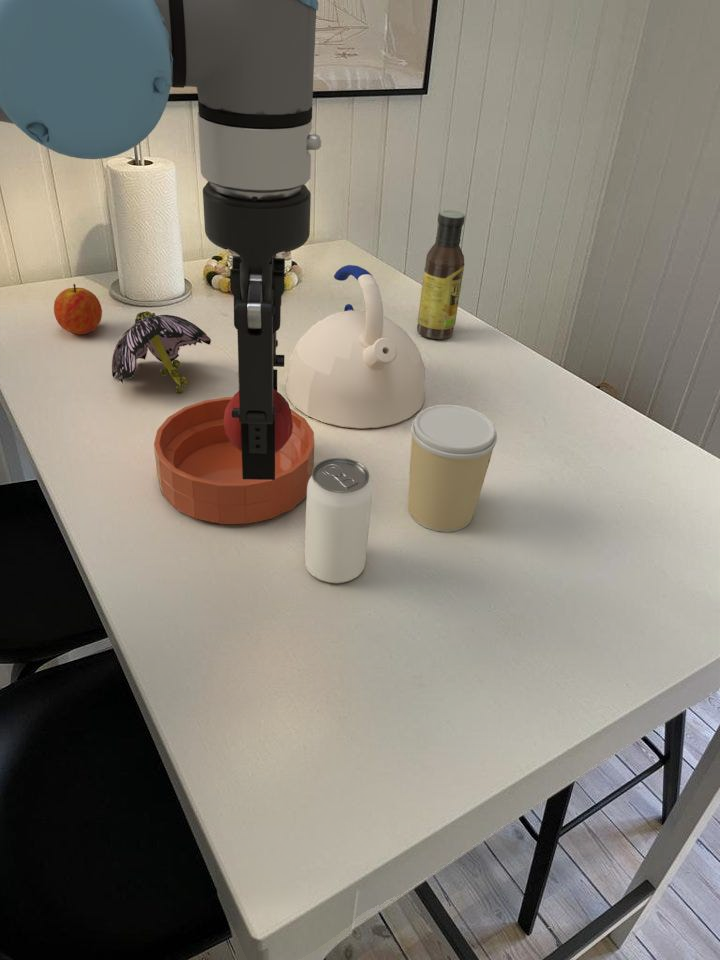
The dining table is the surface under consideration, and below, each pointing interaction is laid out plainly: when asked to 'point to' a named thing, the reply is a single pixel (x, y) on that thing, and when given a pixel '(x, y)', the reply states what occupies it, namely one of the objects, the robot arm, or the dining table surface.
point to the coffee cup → (448, 465)
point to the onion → (281, 421)
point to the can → (337, 520)
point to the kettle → (357, 365)
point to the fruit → (77, 310)
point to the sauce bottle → (442, 279)
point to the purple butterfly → (155, 344)
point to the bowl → (227, 468)
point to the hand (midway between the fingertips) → (260, 454)
